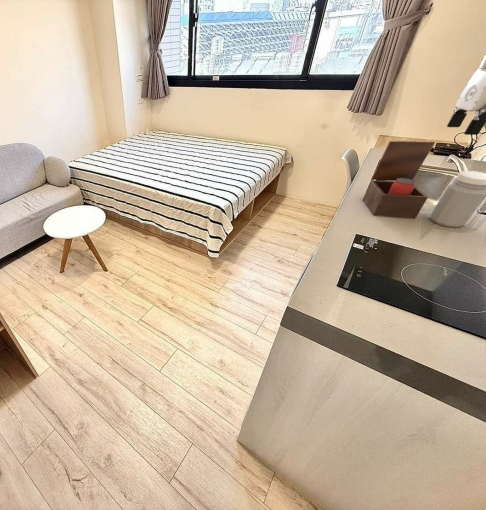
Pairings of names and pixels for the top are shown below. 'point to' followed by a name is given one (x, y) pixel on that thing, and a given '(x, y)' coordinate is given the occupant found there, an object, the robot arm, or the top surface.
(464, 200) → the jar
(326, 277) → the top surface
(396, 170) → the box lid
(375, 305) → the top surface
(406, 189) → the beer can
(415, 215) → the storage box
